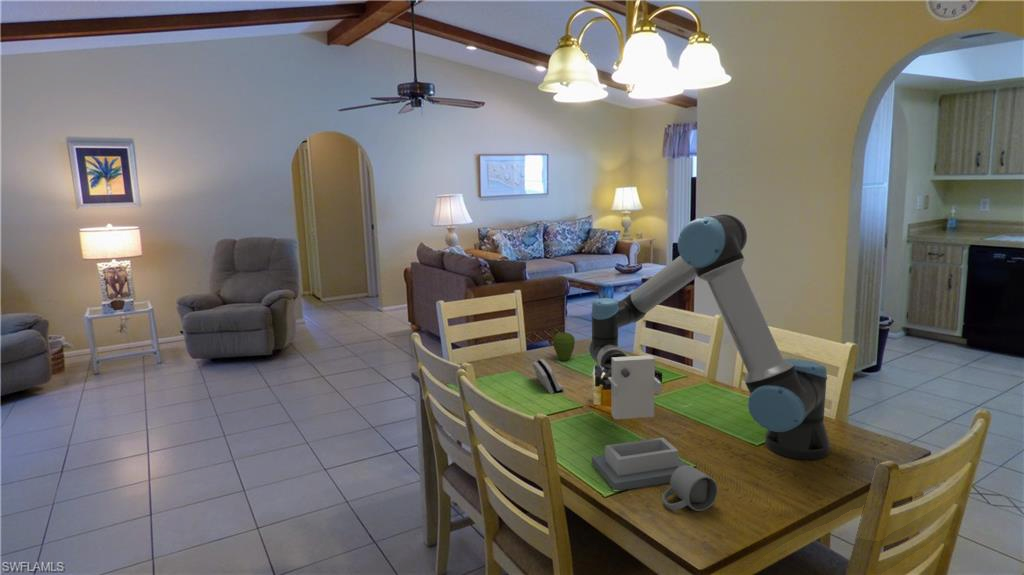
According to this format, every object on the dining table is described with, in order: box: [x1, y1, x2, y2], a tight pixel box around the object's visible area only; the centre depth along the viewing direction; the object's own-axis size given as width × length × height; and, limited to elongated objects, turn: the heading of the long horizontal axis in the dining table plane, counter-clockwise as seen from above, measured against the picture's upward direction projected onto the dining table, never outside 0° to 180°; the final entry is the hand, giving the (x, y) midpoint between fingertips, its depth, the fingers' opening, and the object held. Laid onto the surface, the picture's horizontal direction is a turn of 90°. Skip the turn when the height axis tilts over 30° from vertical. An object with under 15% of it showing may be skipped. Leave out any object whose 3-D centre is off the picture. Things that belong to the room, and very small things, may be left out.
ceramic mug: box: [662, 464, 719, 512], centre depth 131 cm, size 11×8×8 cm
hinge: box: [531, 358, 565, 394], centre depth 207 cm, size 17×5×10 cm, turn 13°
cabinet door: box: [610, 354, 656, 420], centre depth 148 cm, size 10×4×15 cm, turn 95°
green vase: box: [552, 331, 576, 362], centre depth 235 cm, size 9×8×12 cm
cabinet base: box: [591, 436, 687, 491], centre depth 146 cm, size 20×14×6 cm
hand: (638, 389), depth 145 cm, fingers closed on cabinet door, 10 cm apart
